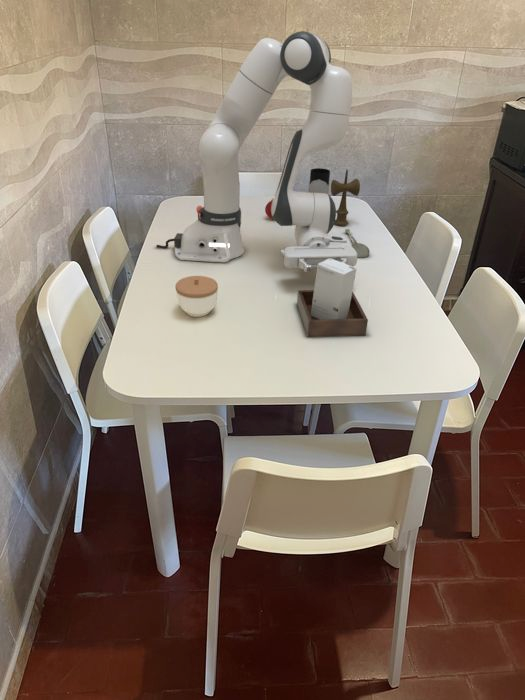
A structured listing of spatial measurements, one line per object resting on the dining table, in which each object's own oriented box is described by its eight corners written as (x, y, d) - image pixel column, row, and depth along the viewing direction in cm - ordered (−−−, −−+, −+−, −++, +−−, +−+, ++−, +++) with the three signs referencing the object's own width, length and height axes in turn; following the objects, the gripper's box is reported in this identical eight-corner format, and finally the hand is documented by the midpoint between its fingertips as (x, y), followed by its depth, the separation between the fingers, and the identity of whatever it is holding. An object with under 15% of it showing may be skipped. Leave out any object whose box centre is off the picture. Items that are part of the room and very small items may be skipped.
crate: (307, 337, 130) (308, 321, 127) (296, 304, 143) (298, 290, 141) (365, 335, 131) (368, 319, 129) (349, 303, 145) (351, 289, 142)
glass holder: (305, 211, 208) (307, 172, 200) (308, 200, 220) (311, 163, 212) (327, 213, 207) (331, 174, 199) (329, 202, 219) (333, 165, 210)
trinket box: (185, 325, 133) (183, 291, 128) (171, 306, 141) (169, 274, 135) (224, 316, 137) (224, 283, 132) (208, 298, 145) (207, 267, 140)
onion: (278, 222, 197) (279, 201, 192) (263, 221, 198) (264, 199, 193) (281, 217, 202) (282, 196, 197) (266, 216, 203) (267, 195, 198)
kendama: (355, 226, 196) (363, 171, 185) (330, 227, 194) (336, 172, 183) (350, 221, 201) (357, 167, 190) (326, 222, 199) (331, 167, 188)
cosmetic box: (310, 316, 137) (314, 263, 129) (323, 308, 141) (328, 256, 133) (337, 328, 133) (343, 273, 125) (350, 319, 137) (357, 266, 129)
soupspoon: (350, 259, 172) (370, 260, 172) (352, 250, 170) (372, 251, 170) (338, 232, 189) (356, 233, 190) (339, 223, 188) (357, 224, 188)
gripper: (280, 238, 150) (287, 258, 138) (351, 237, 152) (363, 257, 140) (279, 259, 153) (286, 280, 142) (348, 258, 155) (360, 278, 144)
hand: (325, 268), depth 141 cm, fingers open, 8 cm apart
